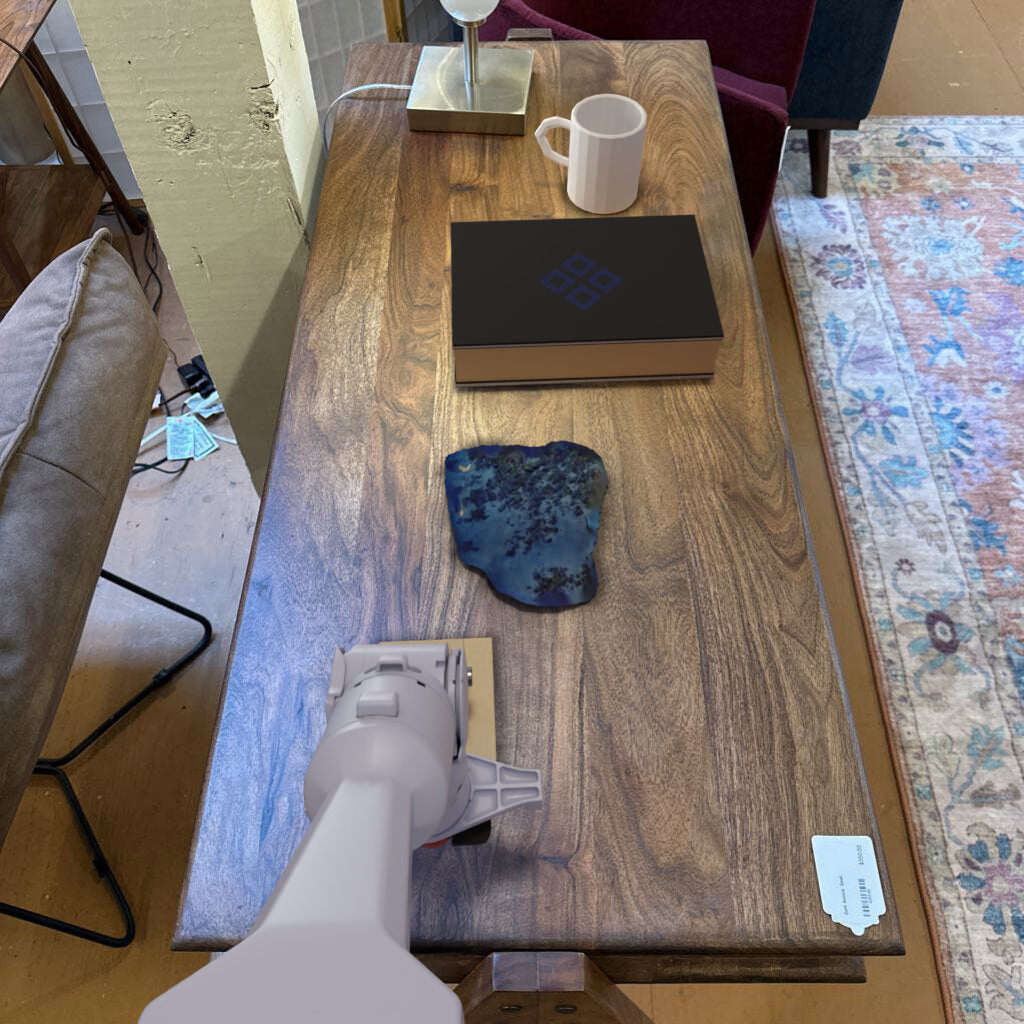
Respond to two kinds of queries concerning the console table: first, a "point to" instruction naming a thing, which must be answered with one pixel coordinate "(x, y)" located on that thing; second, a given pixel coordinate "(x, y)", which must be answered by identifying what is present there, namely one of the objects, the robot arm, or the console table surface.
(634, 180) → the mug
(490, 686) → the bracket
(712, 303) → the book
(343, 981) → the robot arm
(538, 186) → the console table surface
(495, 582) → the rock
